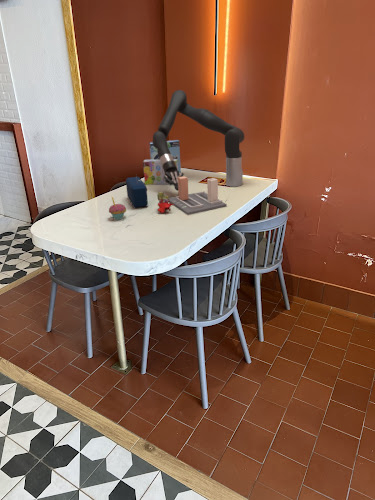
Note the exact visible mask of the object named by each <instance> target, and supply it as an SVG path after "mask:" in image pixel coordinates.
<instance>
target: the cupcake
mask: <svg viewBox="0 0 375 500" xmlns="http://www.w3.org/2000/svg"><path fill="white" fill-rule="evenodd" d="M111 200H112V203H113V204H112V205H111V206H110V207H109V208H108V213H110V214H111V216H112V218H113V220H118V221H119V220H123V219H124V216H125V213H126V212H127V207H126V206H125V205H124V204H122V203H115V199H114V197H113V196H111Z"/></svg>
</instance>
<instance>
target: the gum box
mask: <svg viewBox="0 0 375 500" xmlns="http://www.w3.org/2000/svg"><path fill="white" fill-rule="evenodd" d="M166 141H167V145H168V149H169V151H170V153H171V155H172V157H173V159H177V161H178V171H179V173H181V174H182V171H181V170H182V167H181V152H180V149H181V148H180V140H178V139H174V140H171V139H170V140H166ZM148 144H149V156H150V160H158V159H160V158H159V156H158V153H157V148H155V147H154V146H153V141H152V142H149V143H148Z"/></svg>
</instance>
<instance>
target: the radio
mask: <svg viewBox="0 0 375 500" xmlns="http://www.w3.org/2000/svg"><path fill="white" fill-rule="evenodd" d="M125 186H126V194H127V199H128V200H129V202H130V204H131V205H132V206H133V208H134V209H137V208H142V207H147V206H148V204H149V203H148V202H149V201H148V188H147V185H145V182H144V181H142V179H141V178H140V177H139V176H137V175H136V176H133V177H127V178H126V179H125Z"/></svg>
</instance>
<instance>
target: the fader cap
mask: <svg viewBox="0 0 375 500" xmlns="http://www.w3.org/2000/svg"><path fill="white" fill-rule="evenodd" d="M177 192H178V196H179V199H180V200H187V199H189V198H188V194H189V178H188V177H187V176H185V175H183V177H179V176H178V191H177Z"/></svg>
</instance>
